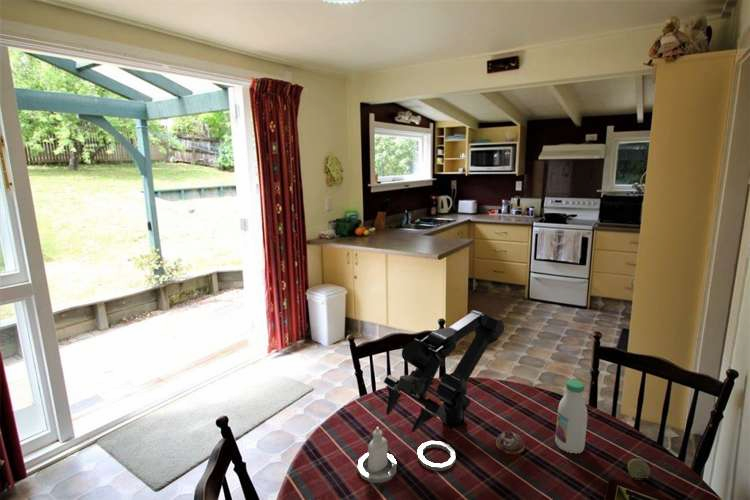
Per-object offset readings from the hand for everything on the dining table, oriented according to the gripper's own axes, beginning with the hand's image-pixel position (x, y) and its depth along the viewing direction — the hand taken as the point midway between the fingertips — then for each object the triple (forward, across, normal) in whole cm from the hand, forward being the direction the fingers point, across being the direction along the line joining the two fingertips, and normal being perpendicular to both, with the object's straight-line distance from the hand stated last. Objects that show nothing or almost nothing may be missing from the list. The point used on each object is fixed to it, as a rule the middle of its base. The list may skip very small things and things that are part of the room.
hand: (399, 423), depth 113 cm
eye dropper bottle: (+13, +1, -1) cm, 13 cm away
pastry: (-10, +24, +23) cm, 34 cm away
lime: (-19, +54, +28) cm, 63 cm away
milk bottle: (-18, +37, +30) cm, 51 cm away
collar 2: (+3, +10, +9) cm, 14 cm away
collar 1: (+13, +1, -1) cm, 13 cm away
